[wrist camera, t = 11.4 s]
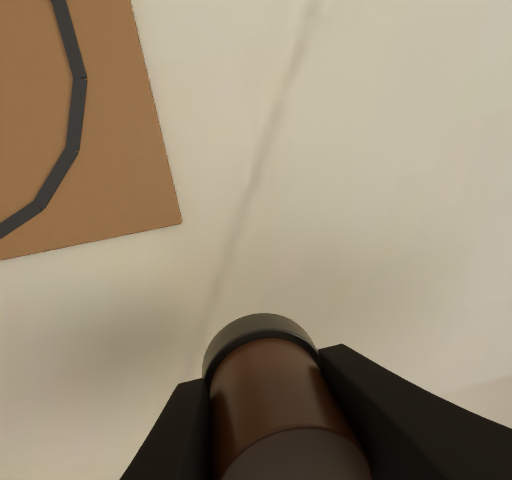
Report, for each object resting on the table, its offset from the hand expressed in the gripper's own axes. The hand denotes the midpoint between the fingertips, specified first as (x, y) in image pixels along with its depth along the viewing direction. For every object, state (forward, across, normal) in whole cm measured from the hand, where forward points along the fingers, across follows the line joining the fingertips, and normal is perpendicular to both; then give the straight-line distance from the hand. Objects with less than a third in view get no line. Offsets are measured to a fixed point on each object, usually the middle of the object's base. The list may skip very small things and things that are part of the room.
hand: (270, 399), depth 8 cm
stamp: (+1, 0, 0) cm, 1 cm away
